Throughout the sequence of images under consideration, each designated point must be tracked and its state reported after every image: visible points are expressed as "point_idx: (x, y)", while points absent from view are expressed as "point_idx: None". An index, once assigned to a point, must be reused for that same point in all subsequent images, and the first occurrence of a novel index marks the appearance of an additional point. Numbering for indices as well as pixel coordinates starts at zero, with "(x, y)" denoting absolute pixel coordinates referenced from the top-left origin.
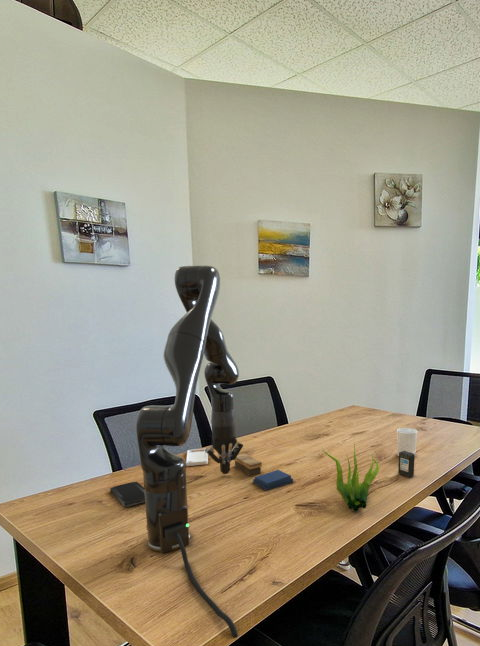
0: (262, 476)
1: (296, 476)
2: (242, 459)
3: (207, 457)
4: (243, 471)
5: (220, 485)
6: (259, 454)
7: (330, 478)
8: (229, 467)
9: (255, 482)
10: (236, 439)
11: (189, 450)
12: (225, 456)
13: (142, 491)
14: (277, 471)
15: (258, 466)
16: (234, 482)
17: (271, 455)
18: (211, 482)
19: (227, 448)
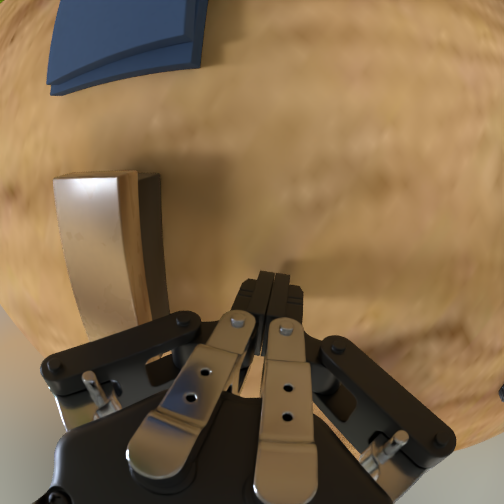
0: (146, 19)
1: (40, 53)
2: (124, 311)
3: None
4: (162, 256)
5: (383, 177)
6: (68, 346)
7: (16, 8)
8: (241, 294)
9: (199, 39)
10: (54, 454)
11: None
12: (271, 359)
13: None
14: (59, 59)
15: (84, 173)
16: (290, 149)
17: (40, 309)
18: (388, 258)
19: (210, 432)
